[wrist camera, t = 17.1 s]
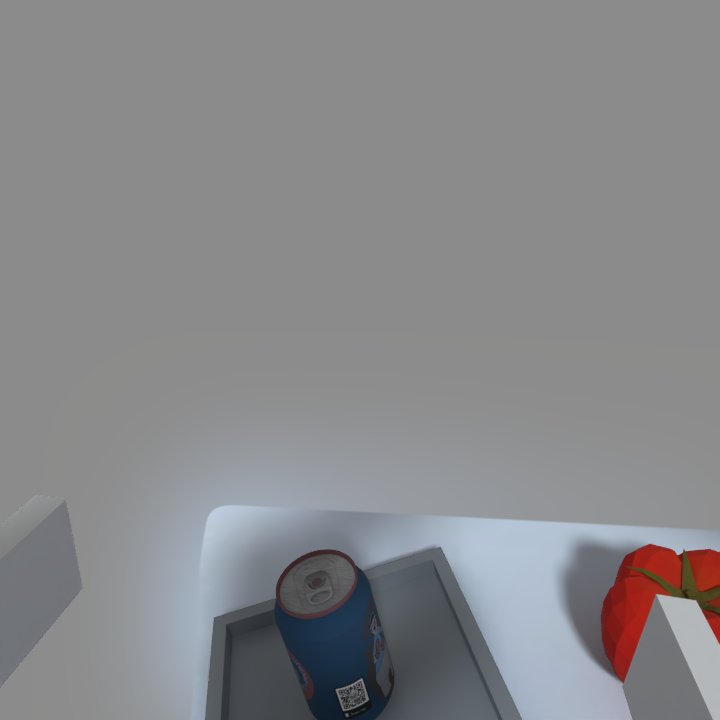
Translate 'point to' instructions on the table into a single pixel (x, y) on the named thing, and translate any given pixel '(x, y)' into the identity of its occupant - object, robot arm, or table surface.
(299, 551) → the table surface
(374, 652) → the soda can
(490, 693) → the tray
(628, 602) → the tomato
